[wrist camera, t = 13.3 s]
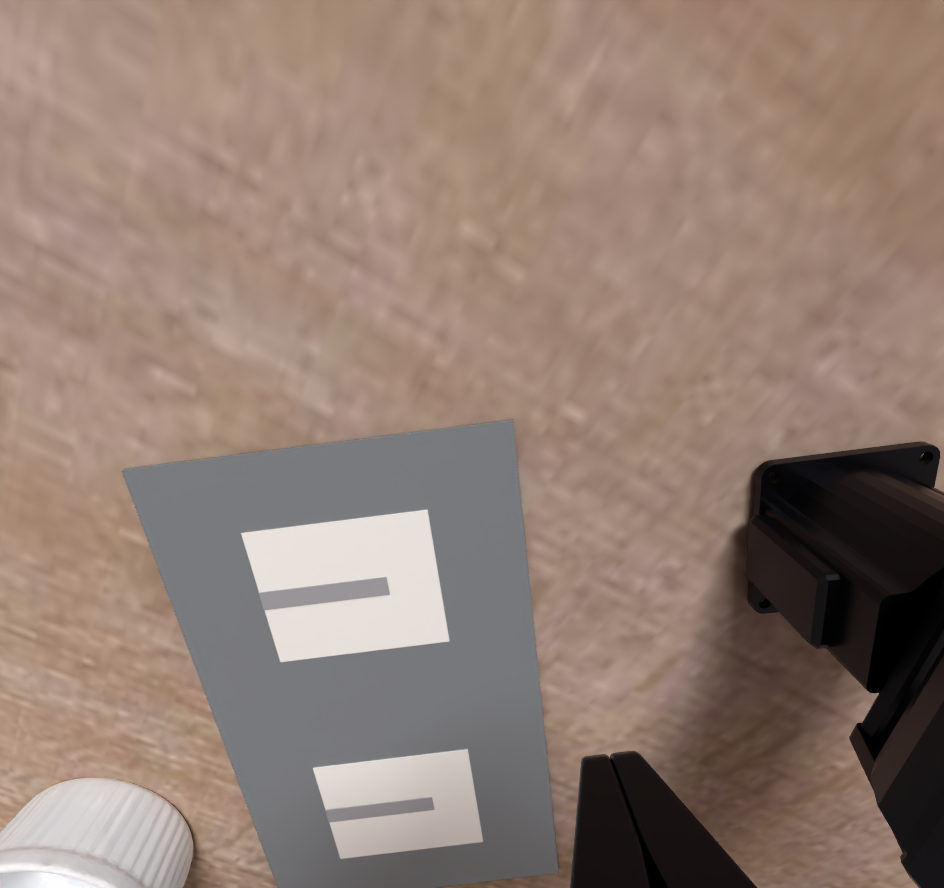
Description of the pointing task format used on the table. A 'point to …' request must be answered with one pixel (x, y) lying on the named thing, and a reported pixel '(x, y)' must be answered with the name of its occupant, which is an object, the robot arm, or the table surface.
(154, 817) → the ramekin
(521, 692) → the slate mat
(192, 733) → the table surface
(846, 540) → the robot arm
